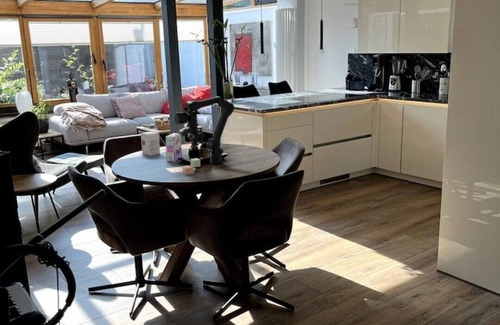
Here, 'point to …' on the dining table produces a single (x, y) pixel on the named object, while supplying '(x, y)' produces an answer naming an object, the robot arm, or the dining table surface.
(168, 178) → the dining table surface
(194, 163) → the green cube
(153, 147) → the supplement box
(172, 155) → the candy box
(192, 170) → the terracotta block
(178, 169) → the letter
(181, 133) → the robot arm
